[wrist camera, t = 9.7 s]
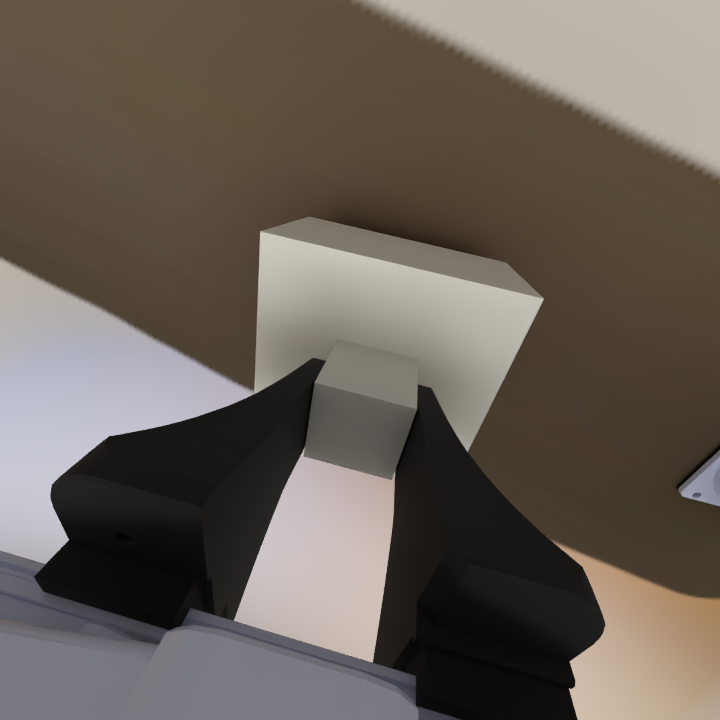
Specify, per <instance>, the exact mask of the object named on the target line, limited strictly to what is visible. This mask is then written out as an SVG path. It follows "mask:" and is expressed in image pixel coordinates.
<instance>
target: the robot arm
mask: <svg viewBox="0 0 720 720" xmlns="http://www.w3.org/2000/svg"><path fill="white" fill-rule="evenodd" d="M325 362H326V361H325V360H321V359H317V358H312V359H310V360H309V361H307V362H306V363H304V364H303V365H301V366H300V367H298V368H297V369H296V370H294V371H293V372H291V373H290V374H288V375H286V376H285V377H283V378H282V379H280V380H278V381H277V382H275V383H274V384H272V385H270V386H268V387H266V388H265V389H263V390H261V391H259V392H257V393H256V394H254V395H252V396H250V397H248V398H246V399H243V400H241V401H239V402H236V403H234V404H232V405H230V406H227V407H224V408H221V409H218V410H216V411H212V412H210V413H207V414H204V415H201V416H198V417H195V418H191V419H188V420H185V421H181V422H177V423H173V424H170V425H165V426H161V427H156V428H152V429H147V430H142V431H137V432H131V433H126V434H121V435H115V436H109V437H108V438H107V439H105V440H104V441H103V442H101V443H100V444H99V445H98V446H96V447H95V448H94V449H93V450H91V451H90V452H89V453H88V454H87V455H86V456H84V457H83V458H82V459H81V460H79V461H78V462H77V463H76V464H75V465H74V466H72V467H71V468H70V469H69V470H68V471H66V472H65V473H64V474H63V475H62V476H60V477H59V478H58V479H57V480H56V481H55V482H54V483H53V484H52V488H51V501H52V504H53V508H54V510H55V512H56V514H57V516H58V518H59V520H60V522H61V524H62V526H63V528H64V530H65V532H66V534H67V536H68V538H69V541H68V542H67V543H66V544H65V545H64V546H63V547H62V548H61V549H60V550H59V551H58V552H57V553H56V554H55V555H54V556H53V557H52V558H51V559H50V561H48V562H47V564H43V563H39V562H36V561H33V560H29V559H26V558H23V557H19V556H16V555H13V554H9V553H6V552H3V551H0V720H577V717H576V713H575V709H574V706H573V702H572V698H571V695H570V691H569V688H570V689H572V688H573V687H575V679H574V675H573V672H572V668H571V665H570V662H569V661H571V660H572V659H573V658H575V657H576V656H578V655H579V654H581V653H582V652H583V651H585V650H586V649H587V648H589V647H590V646H592V645H593V644H594V643H595V642H596V641H597V640H598V639H599V638H600V637H601V635H602V634H603V631H604V627H605V621H604V618H603V615H602V613H601V610H600V607H599V605H598V602H597V600H596V597H595V595H594V592H593V589H592V587H591V585H590V583H589V580H588V578H587V576H586V574H585V572H584V570H583V567H582V566H580V565H579V564H578V563H577V562H576V561H575V560H573V559H572V558H571V557H570V556H569V555H567V554H566V553H565V552H564V551H563V550H561V549H560V548H559V547H558V546H557V545H555V544H554V543H553V542H552V541H551V540H549V539H548V538H547V537H546V536H545V535H544V534H542V533H541V532H540V531H539V530H538V529H537V528H536V527H535V526H534V525H533V524H532V523H531V522H530V521H528V520H527V519H526V518H525V517H524V516H523V515H522V514H521V513H520V512H519V511H518V510H517V509H516V508H515V507H514V506H513V505H512V504H511V503H510V502H509V501H508V500H507V499H506V498H505V497H504V496H503V494H502V493H501V492H500V491H499V490H498V489H497V488H496V487H495V486H494V485H493V483H492V482H491V481H490V480H489V479H488V478H487V476H486V475H485V474H484V473H483V472H482V470H481V469H480V468H479V466H478V465H477V464H476V463H475V461H474V460H473V459H472V457H471V456H470V455H469V453H468V452H467V450H466V449H465V447H464V446H463V444H462V443H461V441H460V440H459V438H458V437H457V435H456V433H455V432H454V430H453V428H452V426H451V425H450V423H449V421H448V419H447V417H446V416H445V414H444V412H443V410H442V408H441V406H440V404H439V402H438V400H437V398H436V396H435V394H434V392H433V390H432V388H431V387H427V386H423V385H419V384H418V389H417V411H416V414H415V416H414V419H413V422H412V425H411V428H410V430H409V433H408V436H407V439H406V442H405V444H404V447H403V450H402V453H401V455H400V458H399V461H398V464H397V467H396V469H395V495H394V518H393V528H392V536H391V543H390V552H389V559H388V566H387V573H386V580H385V587H384V594H383V602H382V608H381V614H380V621H379V628H378V634H377V640H376V647H375V653H374V659H373V663H372V662H368V661H364V660H362V659H358V658H355V657H352V656H348V655H345V654H341V653H338V652H335V651H332V650H328V649H325V648H322V647H318V646H315V645H312V644H308V643H305V642H302V641H298V640H295V639H291V638H288V637H285V636H281V635H279V634H275V633H272V632H268V631H265V630H262V629H259V628H255V627H252V626H248V625H245V624H242V623H239V622H235V621H234V618H235V616H236V613H237V610H238V607H239V604H240V602H241V599H242V596H243V593H244V591H245V588H246V585H247V582H248V579H249V577H250V574H251V572H252V569H253V566H254V563H255V561H256V558H257V555H258V553H259V550H260V547H261V545H262V542H263V540H264V537H265V534H266V532H267V529H268V527H269V524H270V521H271V519H272V516H273V514H274V511H275V509H276V506H277V504H278V501H279V499H280V496H281V494H282V491H283V489H284V487H285V485H286V483H287V481H288V478H289V477H290V475H291V473H292V471H293V469H294V467H295V465H296V463H297V461H298V459H299V457H300V455H301V454H302V452H303V450H304V448H305V444H306V437H307V430H308V424H309V417H310V410H311V403H312V397H313V390H314V383H315V381H316V379H317V377H318V375H319V373H320V372H321V370H322V368H323V366H324V364H325ZM678 491H679V493H680V494H681V495H682V496H683V497H686V498H690V499H694V500H698V501H702V502H705V503H709V504H713V505H717V506H720V450H719V451H718V452H717V453H716V454H715V455H714V456H713V457H712V458H710V459H709V460H708V461H707V462H706V463H705V464H704V465H703V466H702V467H701V468H700V469H699V470H697V471H696V472H695V473H694V474H693V475H692V476H691V477H690V478H689V479H688V480H687V481H686V482H685V483H683V484H682V485H681V486H680V487H679V489H678Z"/></svg>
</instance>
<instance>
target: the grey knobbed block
mask: <svg viewBox="0 0 720 720" xmlns="http://www.w3.org/2000/svg"><path fill="white" fill-rule="evenodd" d="M543 300H544V298H543V297H542V296H540V295H539V294H538V293H537V292H536V291H535V290H534V289H533V288H532V287H531V286H530V285H529V284H528V283H527V282H526V281H525V280H524V279H523V278H522V277H521V276H520V275H518V274H517V273H516V272H515V271H514V270H513V269H512V268H511V267H510V266H509V265H508V264H507V263H506V262H502V261H498V260H493V259H489V258H485V257H480V256H476V255H472V254H468V253H463V252H459V251H455V250H450V249H446V248H442V247H438V246H433V245H429V244H425V243H420V242H416V241H412V240H408V239H403V238H399V237H395V236H390V235H386V234H382V233H378V232H373V231H369V230H365V229H360V228H356V227H352V226H348V225H343V224H339V223H335V222H330V221H326V220H322V219H318V218H313V217H306V218H303V219H300V220H296V221H293V222H290V223H287V224H283V225H280V226H277V227H273V228H270V229H267V230H263V231H260V256H259V283H258V310H257V337H256V364H255V391H254V394H256V393H257V392H259V391H261V390H263V389H265V388H266V387H268V386H270V385H272V384H274V383H275V382H277V381H278V380H280V379H282V378H283V377H285V376H286V375H288V374H290V373H291V372H293V371H294V370H296V369H297V368H298V367H300V366H301V365H303V364H304V363H306V362H307V361H309V360H310V359H312V358H317V359H321V360H325V361H326V362H325V364H324V366H323V368H322V370H321V372H320V373H319V375H318V377H317V379H316V381H315V383H314V390H313V397H312V403H311V410H310V417H309V424H308V430H307V437H306V444H305V448H304V450H303V452H304V456H305V457H309V458H312V459H316V460H320V461H324V462H327V463H331V464H334V465H338V466H342V467H346V468H349V469H353V470H357V471H361V472H364V473H368V474H371V475H375V476H379V477H382V478H386V479H390V480H392V478H393V477H395V469H396V467H397V464H398V461H399V458H400V455H401V453H402V450H403V447H404V444H405V442H406V439H407V436H408V433H409V430H410V428H411V425H412V422H413V419H414V416H415V414H416V411H417V389H418V384H419V385H423V386H427V387H431V388H432V390H433V392H434V394H435V396H436V398H437V400H438V402H439V404H440V406H441V408H442V410H443V412H444V414H445V416H446V417H447V419H448V421H449V423H450V425H451V426H452V428H453V430H454V432H455V433H456V435H457V437H458V438H459V440H460V441H461V443H462V444H463V446H464V447H465V449H466V450H467V452H468V450H469V448H470V446H471V444H472V442H473V440H474V438H475V436H476V434H477V432H478V430H479V428H480V426H481V424H482V422H483V420H484V418H485V416H486V414H487V412H488V410H489V408H490V406H491V404H492V402H493V400H494V398H495V396H496V394H497V392H498V390H499V388H500V386H501V384H502V382H503V380H504V378H505V376H506V374H507V372H508V370H509V368H510V366H511V364H512V362H513V360H514V358H515V356H516V354H517V352H518V350H519V348H520V346H521V344H522V342H523V340H524V338H525V336H526V334H527V332H528V330H529V328H530V326H531V324H532V322H533V320H534V318H535V316H536V314H537V312H538V310H539V308H540V306H541V304H542V302H543Z"/></svg>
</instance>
